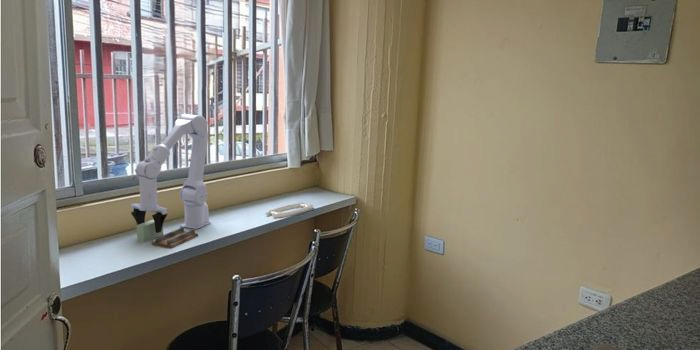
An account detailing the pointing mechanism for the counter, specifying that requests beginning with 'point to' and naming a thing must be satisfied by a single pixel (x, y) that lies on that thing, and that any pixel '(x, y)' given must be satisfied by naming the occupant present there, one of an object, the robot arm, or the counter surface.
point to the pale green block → (147, 231)
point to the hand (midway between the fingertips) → (150, 230)
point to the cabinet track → (174, 238)
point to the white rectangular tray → (277, 214)
